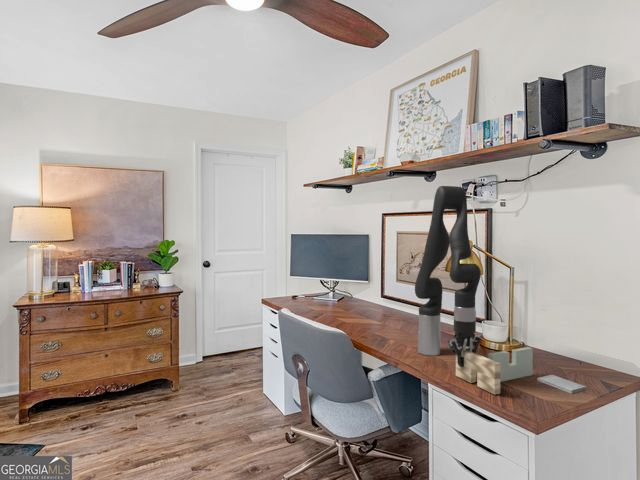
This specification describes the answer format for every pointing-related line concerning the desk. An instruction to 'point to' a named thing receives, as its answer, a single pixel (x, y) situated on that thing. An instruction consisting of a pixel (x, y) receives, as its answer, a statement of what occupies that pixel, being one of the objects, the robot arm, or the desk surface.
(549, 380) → the hard drive
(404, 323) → the desk surface
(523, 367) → the slotted plate
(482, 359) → the pale wooden plank
